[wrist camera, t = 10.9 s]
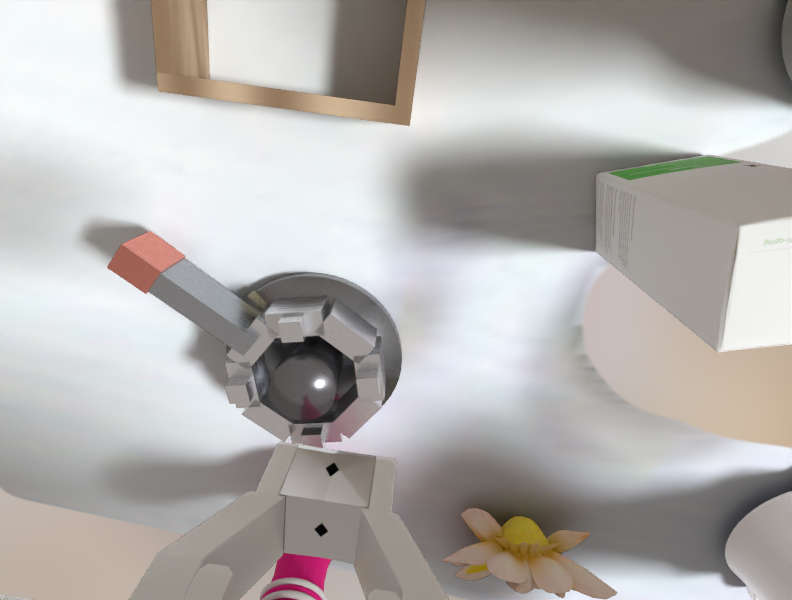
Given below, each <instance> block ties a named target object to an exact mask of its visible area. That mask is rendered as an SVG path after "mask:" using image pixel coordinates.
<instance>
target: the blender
mask: <svg viewBox="0 0 792 600" xmlns="http://www.w3.org/2000/svg"><path fill="white" fill-rule="evenodd" d="M781 40H782V54H783V60H784V64H785V68H786V70H787V73H788V75H789V77H790V79H791V81H792V0H788V2H787V5H786V10H785V14H784V19H783V25H782V38H781Z"/></svg>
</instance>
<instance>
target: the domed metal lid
mask: <svg viewBox="0 0 792 600" xmlns="http://www.w3.org/2000/svg"><path fill="white" fill-rule="evenodd" d="M323 295H328V299H329V306H330V305H331V304H332V303H333V301H334V300H335V299H336V298H337V299H339V300H340V301H341V302H343V303H344V304H345V305H346V306H348V307H349V308H350V309H352V310H353V311H354V312H356V313H357V314H358V315H360V316H361V317H362V318H363V319H365V320H366V321H367V322H369V323H370V324H371V325H373V326H374V327H375V328H377V335H376V336H381V337H382V347H383V356H384V366H385V376H386V384H385V397H384V400H382V405H384V404H385V402H386V401H387V400H388V399H389V397H390V396H391V394H392V392H393V391H394V389H395V387H396V385H397V382H398V380H399V376H400V371H401V362H402V350H401V342H400V337H399V333H398V331H397V328H396V325H395V323H394V321H393V320H392V318H391V316H390V314H389V313H388V312H387V310H386V309H385V308H384V306H383V305H382V304H381V303H380V302H379V301H378V300H377V299H376V298H375V297H374V296H372V295H371V294H370V293H369V292H367V291H366V290H364V289H363V288H361V287H360V286H358V285H356V284H354V283H352V282H350V281H348V280H345V279H342V278H339V277H336V276H333V275H327V274H322V273H297V274H291V275H286V276H283V277H280V278H277V279H274V280H272V281H270V282H268V283H266V284H264V285H263V286H262V287H260V288H259V289H257V290H256V291H254V290H253V291H252V292H251V293H250V294H248V295H247V297H248V298H247V300H246V301H245V302H246V303H247V304H249V305H250V306H252V307H253V308H254V309H256V310H257V311H259V312H261V311H262V309H263V308H264V307H265V306H266V304H267V303H268V302H269V303H270V304H272V303H273V302H274V300H275V299H276V298H292V297H307V296H323ZM231 349H232V348H231V347H229V346H228V345H227V354H228V353H229V351H230V350H231ZM264 355H265V359H266V364H267V368H268V372H269V377H270V382H269V386H268V394H269V398H270V400H271V402H272V404H273V405H274V407H275V408H276V409H277V410H278V411H279V412H281V413H282V414H284V415H285V416H287V417H290V418H293V419H296V420H313V419H316V418H319V417H321V416H323V415H324V414H325V413H327V412H328V411H329V409H330V408H331V407H332V405H333V402H334V400H339V399H340V398H341V397H342V396H343V395H344V394H345V393H346V392H347V391H348V390H349V389H350V388H351V387H352V386H353V385H354V384H355V383H356V373H355V366H354V361H353V360H352V359H350V358H349V357H348V356H346V355H345V354H344V353H342V352H341V351H339V350H338V349H337V348H335V347H334V346H333V345H331V344H330V343H328V342H327V341H326V340H324V339H323V338H322V337H320V336H306V338H305V340H304V342H288V343H282V341H281V338H275V339H274V340H273V342H272V343H271V344H270V345H269V346H268V348H267V349H266V350H265V351H264ZM228 358H229V357H228Z"/></svg>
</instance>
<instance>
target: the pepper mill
mask: <svg viewBox="0 0 792 600" xmlns="http://www.w3.org/2000/svg"><path fill="white" fill-rule="evenodd" d="M331 560H332V559H326V558H321V557H314V556H306V555H297V554H289V553H283V555H282V557H281V558H280V559H279V560H278V561H277V565H276V569H275V573H274V577H273V579H272V581H271V583H270V584H268V585H267V586H266V587H265V588H264V589H263V591H262V592H261V595H260V600H327V597H326V595H325V593H324V580H325V576H326V572H327V568H328V566H329V564H330V562H331Z"/></svg>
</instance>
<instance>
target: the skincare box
mask: <svg viewBox="0 0 792 600" xmlns="http://www.w3.org/2000/svg"><path fill="white" fill-rule="evenodd" d="M595 252H596V253H598V254H599V255H600V256H601V257H603V258H604V259H605V260H606V261H607V262H609V263H610V264H611V265H612V266H613V267H615V268H616V269H617V270H618V271H620V272H621V273H623V275H625V276H626V277H627V278H628V279H630V280H631V281H632V282H633V283H634V284H636V285H637V286H638V287H639V288H640V289H642V290H643V291H644V292H645V293H646V294H648V295H649V296H650V297H651V298H652V299H654V300H655V301H656V302H657V303H659V304H660V305H661V306H662V307H663V308H665V309H666V310H667V311H668V312H670V313H671V314H672V315H673V316H674V317H676V318H677V319H678V320H679V321H680V322H682V323H683V324H684V325H685V326H686V327H688V328H689V329H690V330H691V331H693V332H694V333H695V334H696V335H697V336H698V337H700V338H701V339H702V340H703V341H705V342H706V343H707V344H708V345H709V346H711V347H712V348H713V349H714V350H715V351H717V352H723V351H730V350H741V349H751V348H761V347H770V346H780V345H790V344H791V345H792V169H791V168H785V167H778V166H772V165H766V164H761V163H755V162H749V161H743V160H737V159H732V158H726V157H720V156H714V155H703V156H697V157H692V158H686V159H678V160H672V161H666V162H660V163H655V164H649V165H643V166H637V167H632V168H626V169H619V170H613V171H606V172H600V173H597V175H596V243H595Z"/></svg>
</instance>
